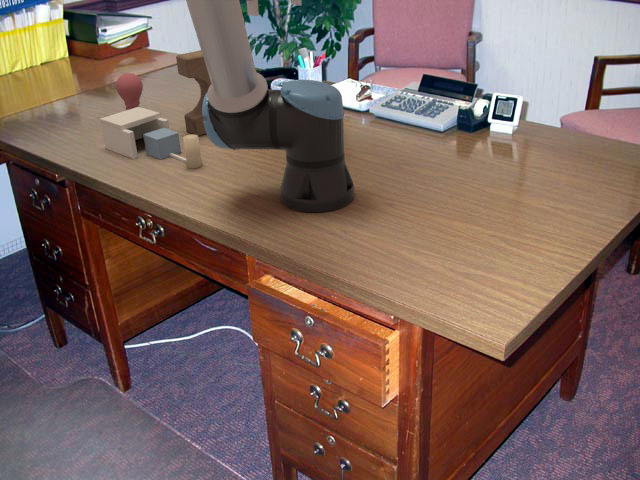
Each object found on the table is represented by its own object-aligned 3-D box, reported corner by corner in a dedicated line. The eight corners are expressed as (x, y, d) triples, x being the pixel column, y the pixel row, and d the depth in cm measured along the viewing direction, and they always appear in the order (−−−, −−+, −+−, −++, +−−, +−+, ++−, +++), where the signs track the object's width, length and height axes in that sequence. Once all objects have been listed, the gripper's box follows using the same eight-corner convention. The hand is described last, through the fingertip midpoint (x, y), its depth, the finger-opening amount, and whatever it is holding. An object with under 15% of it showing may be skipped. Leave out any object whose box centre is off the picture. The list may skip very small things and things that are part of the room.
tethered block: (146, 153, 172) (141, 126, 169) (167, 146, 176) (163, 119, 172) (188, 171, 161) (184, 142, 157) (209, 163, 164) (205, 135, 161)
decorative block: (196, 137, 181) (185, 58, 171) (185, 131, 185) (174, 55, 175) (233, 127, 187) (225, 50, 177) (222, 121, 191) (213, 47, 181)
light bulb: (141, 120, 195) (134, 77, 189) (117, 119, 196) (109, 77, 190) (151, 112, 201) (144, 70, 195) (127, 111, 202) (120, 70, 197)
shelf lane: (105, 148, 177) (99, 118, 173) (143, 135, 184) (138, 106, 180) (133, 158, 169) (128, 128, 166) (172, 144, 177) (167, 115, 173)
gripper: (295, -99, 159) (301, -1, 169) (210, -90, 143) (222, 18, 153) (320, -99, 155) (324, 2, 165) (235, -90, 138) (246, 21, 149)
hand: (275, 10), depth 159 cm, fingers open, 13 cm apart
